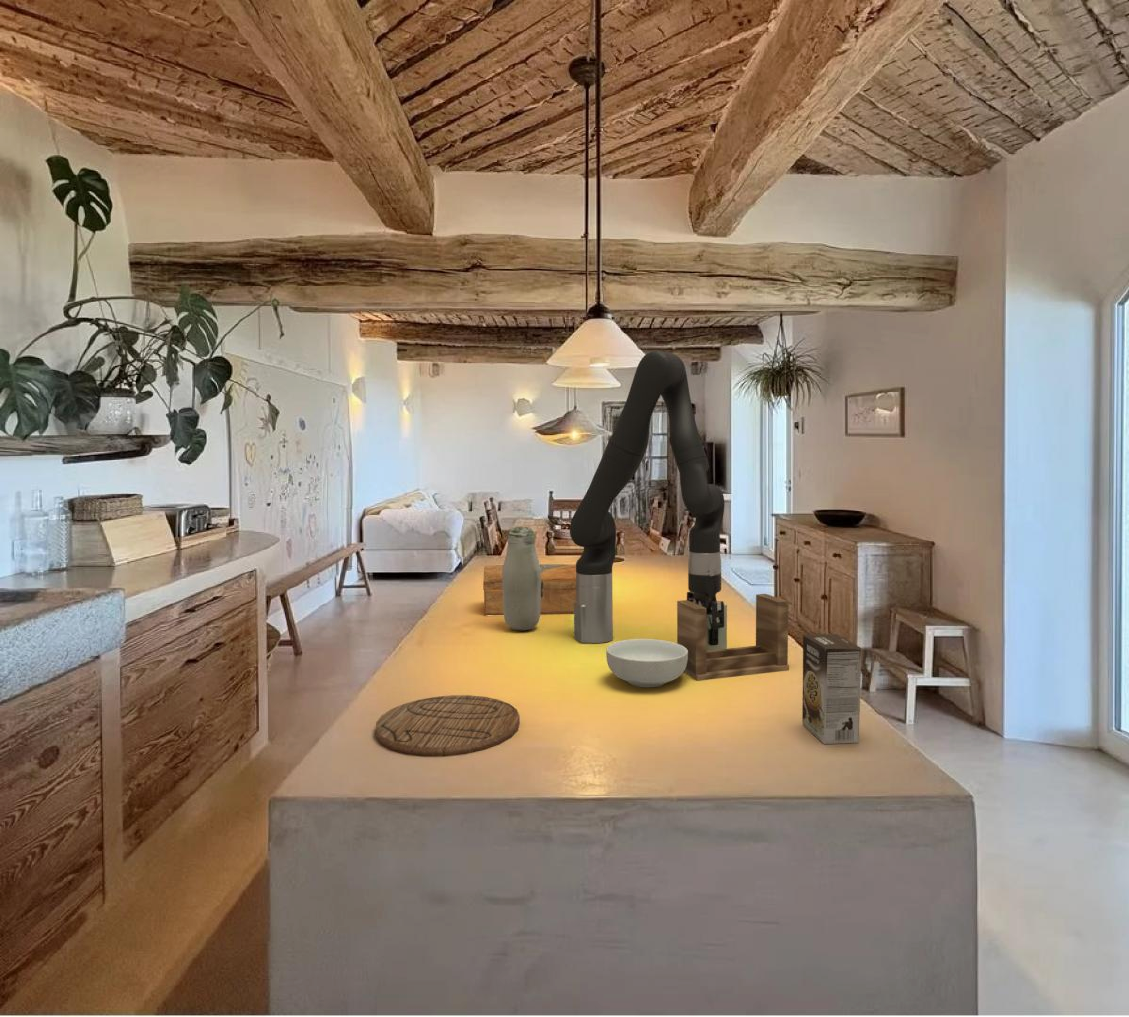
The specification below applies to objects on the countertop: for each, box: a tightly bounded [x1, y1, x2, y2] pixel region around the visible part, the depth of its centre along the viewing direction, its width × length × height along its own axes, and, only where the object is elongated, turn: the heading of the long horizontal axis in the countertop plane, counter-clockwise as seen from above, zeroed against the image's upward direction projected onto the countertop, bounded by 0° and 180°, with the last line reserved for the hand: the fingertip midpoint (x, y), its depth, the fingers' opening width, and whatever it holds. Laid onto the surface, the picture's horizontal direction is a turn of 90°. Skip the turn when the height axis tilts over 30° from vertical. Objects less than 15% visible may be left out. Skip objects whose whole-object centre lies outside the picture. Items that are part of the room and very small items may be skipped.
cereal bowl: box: [605, 638, 688, 688], centre depth 155 cm, size 17×17×7 cm
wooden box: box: [482, 563, 576, 616], centre depth 224 cm, size 30×16×14 cm, turn 91°
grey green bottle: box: [502, 526, 541, 632], centre depth 200 cm, size 10×10×28 cm
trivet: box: [375, 694, 521, 757], centre depth 131 cm, size 25×25×2 cm
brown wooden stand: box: [676, 593, 790, 682], centre depth 162 cm, size 22×10×15 cm, turn 107°
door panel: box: [706, 603, 728, 651], centre depth 172 cm, size 10×4×12 cm, turn 107°
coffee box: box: [801, 633, 862, 745], centre depth 125 cm, size 9×6×16 cm
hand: (704, 640), depth 173 cm, fingers open, 7 cm apart
